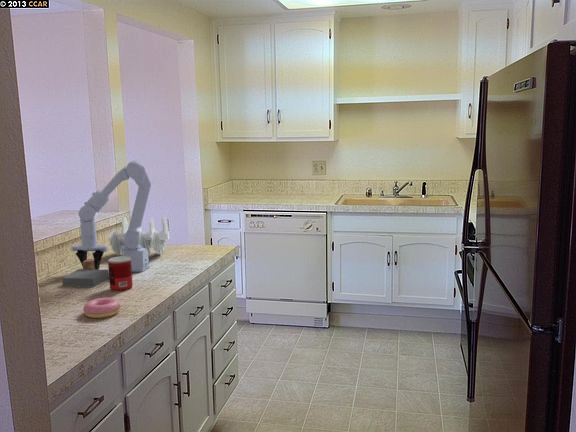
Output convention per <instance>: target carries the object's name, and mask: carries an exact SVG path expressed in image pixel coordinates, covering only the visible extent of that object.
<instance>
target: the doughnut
mask: <svg viewBox="0 0 576 432" xmlns="http://www.w3.org/2000/svg"><path fill="white" fill-rule="evenodd" d="M82 309H83V313H84V315H85V316H87V317H88V318H91V319H105V318H110V317H112V316H114V315H116V314H117V313H118V312H120V309H121V303H120V301H119V300H118V299H116V298H114V297H113V298H112V297H100V298H99V297H97V298H95V299H92V300H89V301H88V302H86V303H85V304H84V305H83V308H82Z"/></svg>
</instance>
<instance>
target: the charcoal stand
mask: <svg viewBox="0 0 576 432" xmlns="http://www.w3.org/2000/svg"><path fill="white" fill-rule="evenodd" d="M61 279H62V281H61V283H62V287H88V288H89V287H90V288H91V287H92V288H93V287H95V286H98V285H99V284H101V283H102V282H104V281H105V280H106V279H109V269H99V270H91V269H83V268H82V269H81V268H78V269H76V270H75V271H73V272H71V273H69V274H67V275H66V276H63V277H62V278H61Z"/></svg>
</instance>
